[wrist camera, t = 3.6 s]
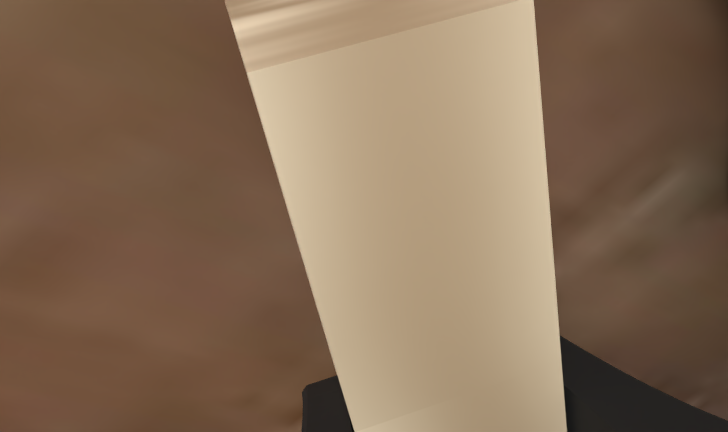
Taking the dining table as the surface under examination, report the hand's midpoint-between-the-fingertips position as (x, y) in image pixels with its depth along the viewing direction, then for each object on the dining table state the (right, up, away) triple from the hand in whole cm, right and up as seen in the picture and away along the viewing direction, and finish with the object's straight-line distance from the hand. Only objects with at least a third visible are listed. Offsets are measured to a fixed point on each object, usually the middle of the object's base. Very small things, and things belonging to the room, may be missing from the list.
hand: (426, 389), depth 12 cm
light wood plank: (-1, +2, +4) cm, 4 cm away
